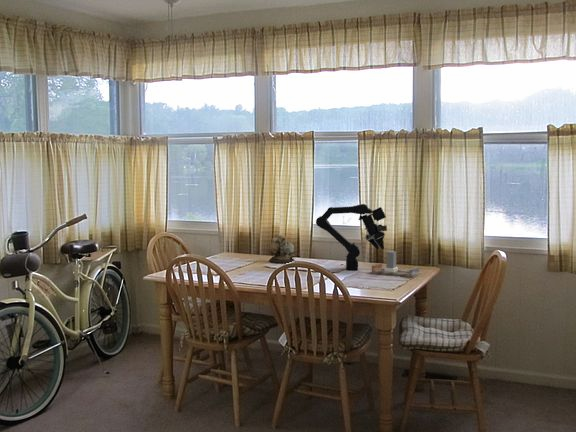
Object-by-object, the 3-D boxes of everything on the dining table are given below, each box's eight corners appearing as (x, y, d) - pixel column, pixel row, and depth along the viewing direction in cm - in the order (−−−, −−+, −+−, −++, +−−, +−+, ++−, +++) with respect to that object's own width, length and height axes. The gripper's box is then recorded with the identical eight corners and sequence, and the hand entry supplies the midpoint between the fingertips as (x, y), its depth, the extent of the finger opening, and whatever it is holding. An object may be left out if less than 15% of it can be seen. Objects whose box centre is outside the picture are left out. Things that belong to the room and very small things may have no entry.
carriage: (384, 271, 331) (384, 252, 330) (388, 270, 336) (388, 250, 335) (393, 272, 328) (394, 252, 327) (397, 271, 333) (398, 251, 332)
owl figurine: (264, 263, 366) (264, 235, 365) (270, 260, 378) (270, 233, 376) (292, 264, 361) (292, 236, 360) (298, 261, 372) (298, 234, 371)
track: (371, 273, 333) (371, 265, 332) (378, 270, 341) (378, 263, 341) (412, 278, 320) (412, 269, 320) (418, 275, 328) (419, 267, 328)
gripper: (387, 217, 333) (398, 243, 333) (376, 219, 351) (387, 243, 351) (369, 225, 331) (380, 251, 331) (360, 227, 349) (371, 251, 350)
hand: (380, 249), depth 341 cm, fingers open, 9 cm apart
